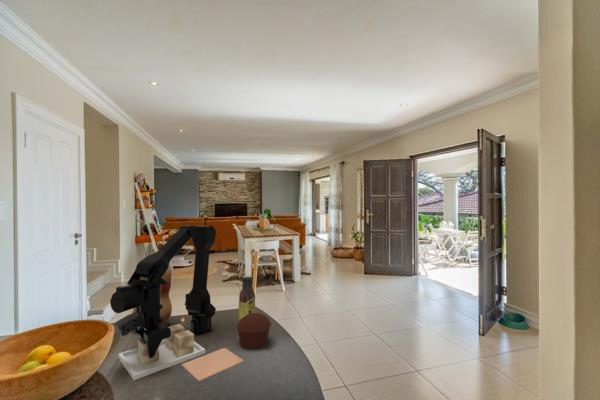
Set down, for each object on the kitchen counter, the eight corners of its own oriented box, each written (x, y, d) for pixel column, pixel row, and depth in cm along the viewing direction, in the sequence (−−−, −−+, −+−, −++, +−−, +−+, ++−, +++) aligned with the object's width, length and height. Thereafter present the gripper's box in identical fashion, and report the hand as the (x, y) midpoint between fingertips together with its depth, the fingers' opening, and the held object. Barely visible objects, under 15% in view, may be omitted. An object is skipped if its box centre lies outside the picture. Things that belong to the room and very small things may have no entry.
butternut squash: (152, 338, 100) (153, 267, 101) (122, 333, 104) (124, 265, 104) (179, 323, 113) (180, 260, 114) (152, 319, 117) (154, 259, 118)
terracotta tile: (224, 350, 92) (224, 347, 92) (243, 363, 84) (243, 360, 84) (181, 367, 82) (181, 364, 82) (198, 383, 74) (198, 380, 74)
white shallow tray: (183, 338, 100) (184, 333, 100) (205, 355, 88) (205, 349, 89) (118, 359, 86) (118, 353, 86) (133, 382, 74) (133, 375, 74)
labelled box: (153, 354, 87) (154, 334, 88) (159, 360, 84) (159, 339, 84) (137, 360, 84) (138, 339, 84) (142, 366, 81) (143, 344, 81)
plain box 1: (178, 341, 96) (179, 323, 96) (184, 346, 93) (184, 327, 93) (164, 346, 93) (165, 327, 93) (170, 350, 90) (170, 331, 90)
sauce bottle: (251, 332, 105) (251, 278, 106) (235, 330, 106) (236, 277, 107) (257, 325, 112) (257, 274, 112) (242, 324, 113) (243, 274, 114)
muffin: (240, 356, 88) (240, 323, 88) (232, 341, 98) (233, 312, 98) (276, 348, 93) (276, 317, 93) (265, 335, 103) (265, 307, 103)
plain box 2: (187, 348, 91) (187, 329, 92) (193, 353, 88) (193, 334, 88) (173, 353, 88) (173, 334, 88) (179, 359, 85) (179, 338, 85)
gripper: (111, 300, 86) (109, 353, 85) (128, 317, 73) (126, 379, 72) (150, 293, 94) (149, 341, 93) (172, 307, 80) (171, 362, 80)
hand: (148, 354), depth 84 cm, fingers closed on labelled box, 4 cm apart
